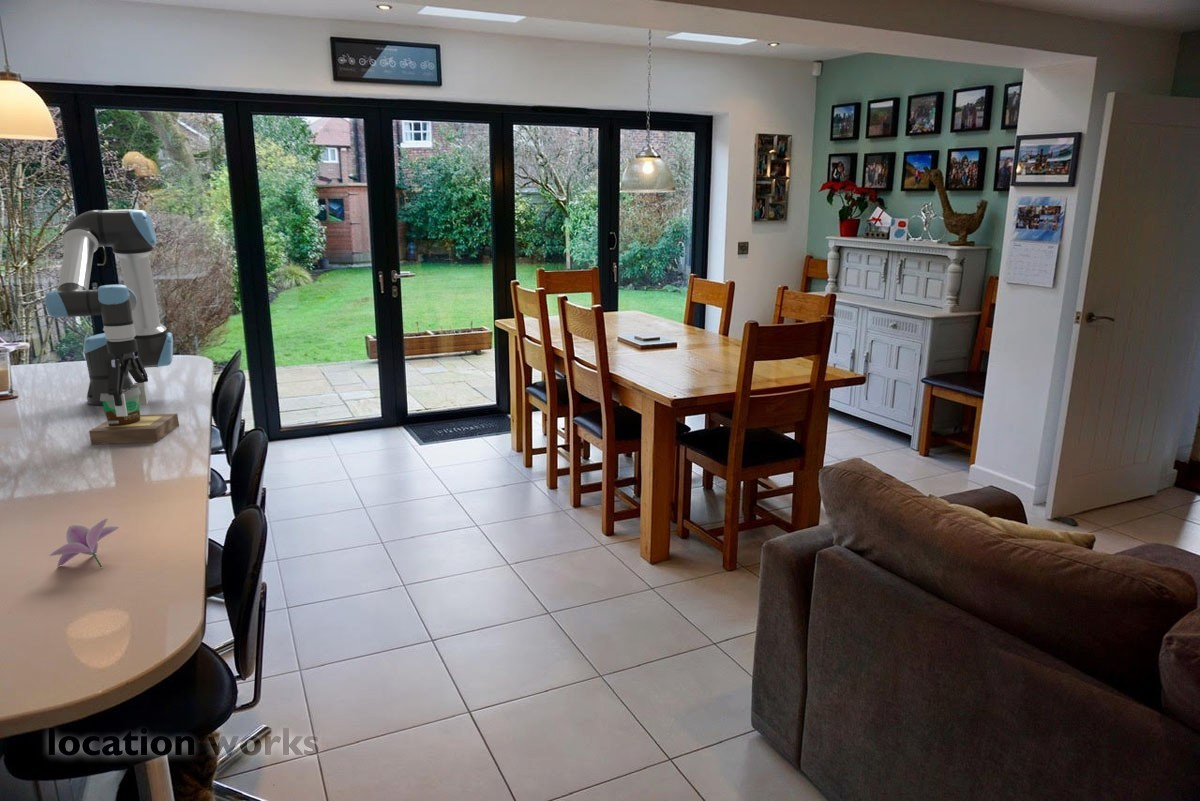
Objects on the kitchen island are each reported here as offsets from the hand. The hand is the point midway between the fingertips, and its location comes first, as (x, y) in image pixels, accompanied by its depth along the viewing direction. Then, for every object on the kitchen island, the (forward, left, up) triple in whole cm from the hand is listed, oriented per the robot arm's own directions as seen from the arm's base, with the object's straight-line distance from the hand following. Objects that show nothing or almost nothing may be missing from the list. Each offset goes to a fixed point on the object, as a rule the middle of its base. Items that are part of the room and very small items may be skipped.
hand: (132, 409), depth 232 cm
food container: (+1, -1, -4) cm, 4 cm away
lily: (+88, +28, -8) cm, 93 cm away
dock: (0, 0, -8) cm, 8 cm away
